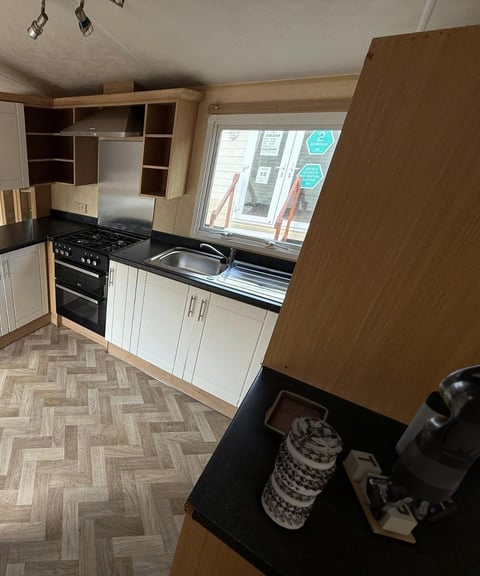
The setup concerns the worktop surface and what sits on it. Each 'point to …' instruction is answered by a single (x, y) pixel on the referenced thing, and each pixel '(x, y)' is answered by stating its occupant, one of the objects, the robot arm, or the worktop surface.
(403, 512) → the tile
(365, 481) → the tile
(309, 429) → the decorative candle
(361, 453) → the tile
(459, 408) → the robot arm
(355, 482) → the word board
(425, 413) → the travel mug
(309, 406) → the baking dish
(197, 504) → the worktop surface
